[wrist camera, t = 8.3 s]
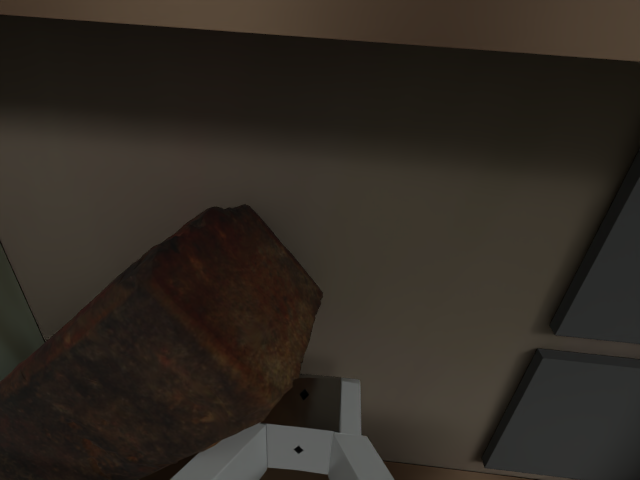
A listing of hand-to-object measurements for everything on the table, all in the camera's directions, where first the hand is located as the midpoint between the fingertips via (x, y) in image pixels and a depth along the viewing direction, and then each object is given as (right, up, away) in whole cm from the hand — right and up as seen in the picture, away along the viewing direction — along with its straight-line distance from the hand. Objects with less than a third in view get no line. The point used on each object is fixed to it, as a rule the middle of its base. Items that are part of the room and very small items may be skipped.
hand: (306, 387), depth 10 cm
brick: (-5, +2, +2) cm, 5 cm away
